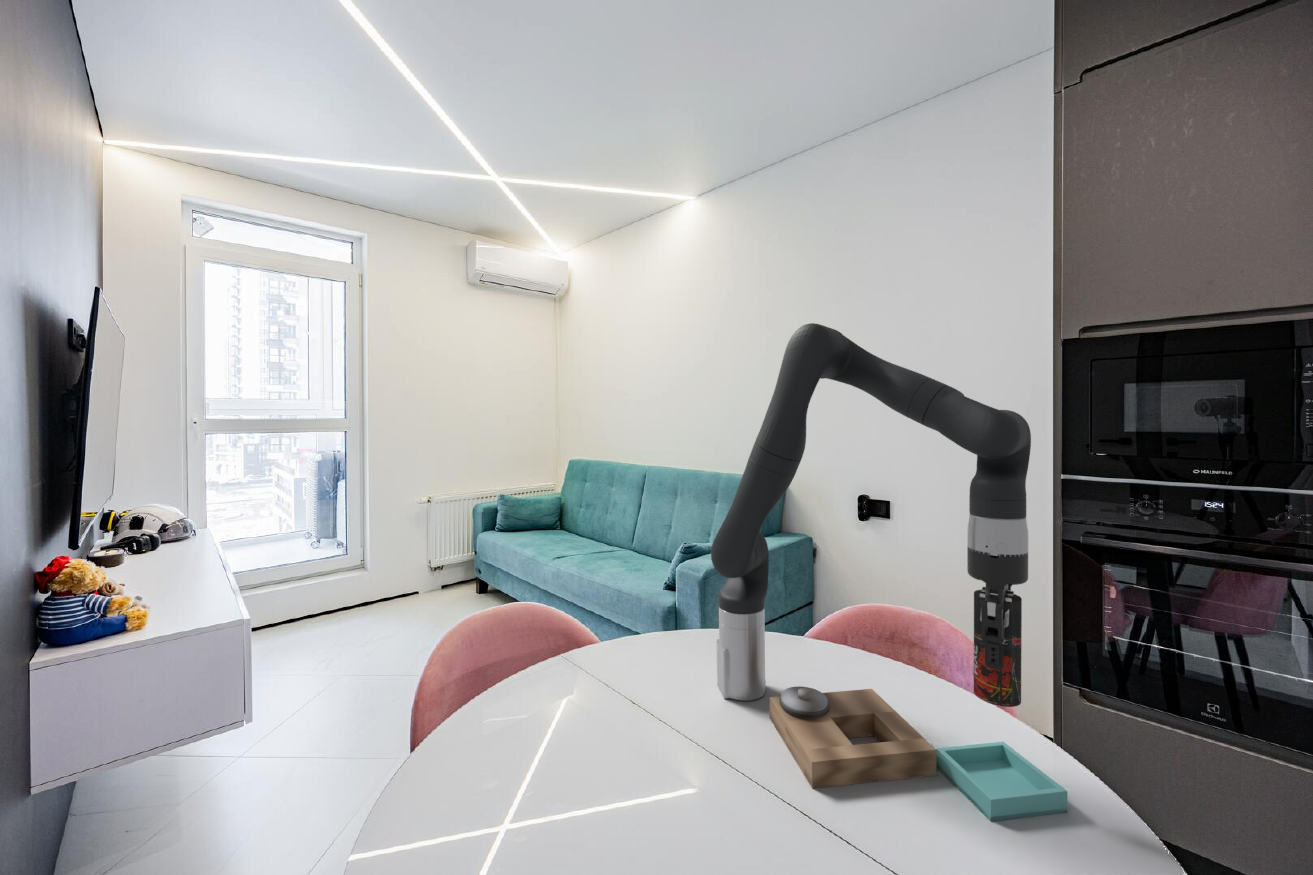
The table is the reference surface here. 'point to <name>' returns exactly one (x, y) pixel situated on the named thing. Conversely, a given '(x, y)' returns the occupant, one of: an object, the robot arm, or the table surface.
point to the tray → (1001, 781)
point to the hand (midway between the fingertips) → (996, 658)
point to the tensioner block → (831, 718)
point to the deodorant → (1005, 682)
